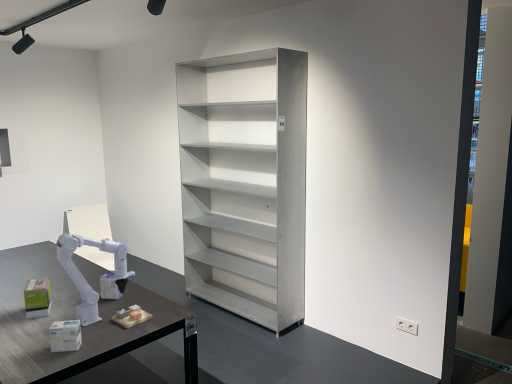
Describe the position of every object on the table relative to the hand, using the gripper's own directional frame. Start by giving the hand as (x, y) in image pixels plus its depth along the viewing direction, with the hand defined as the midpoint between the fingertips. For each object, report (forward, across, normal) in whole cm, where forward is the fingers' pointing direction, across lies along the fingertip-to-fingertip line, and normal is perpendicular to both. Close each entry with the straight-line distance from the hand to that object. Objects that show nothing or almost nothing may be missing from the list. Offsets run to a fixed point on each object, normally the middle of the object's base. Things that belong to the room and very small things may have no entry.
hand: (121, 292), depth 210 cm
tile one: (+8, -2, -15) cm, 17 cm away
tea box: (+10, -28, +30) cm, 42 cm away
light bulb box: (+10, -35, -14) cm, 39 cm away
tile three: (+8, -5, -8) cm, 13 cm away
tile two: (+8, +2, -8) cm, 12 cm away
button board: (+9, -2, -12) cm, 15 cm away
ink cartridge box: (+10, +5, +19) cm, 22 cm away
